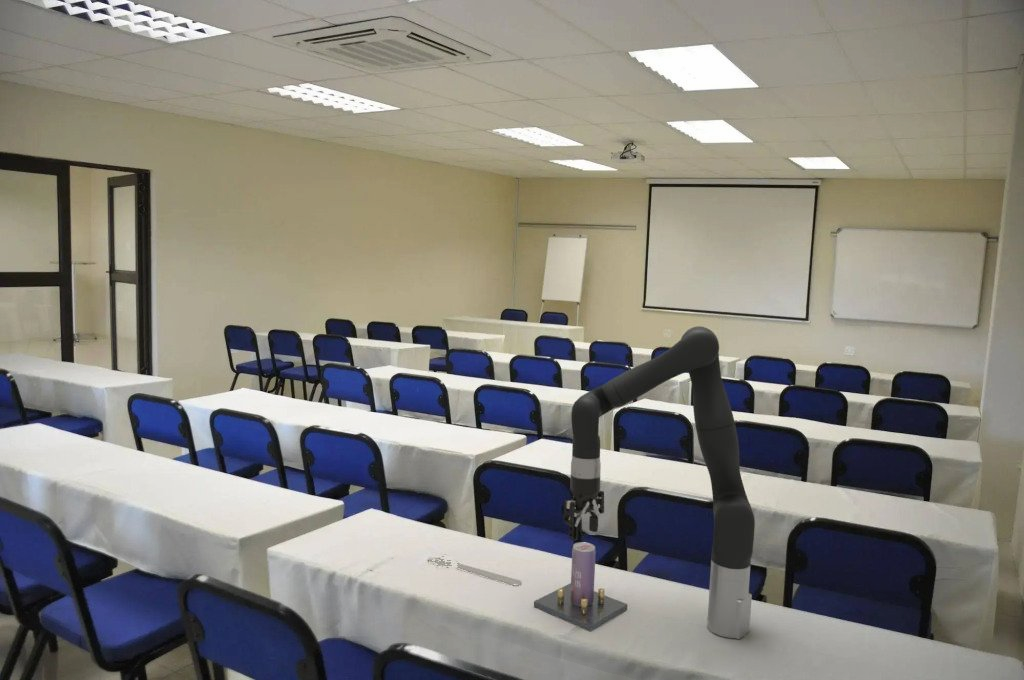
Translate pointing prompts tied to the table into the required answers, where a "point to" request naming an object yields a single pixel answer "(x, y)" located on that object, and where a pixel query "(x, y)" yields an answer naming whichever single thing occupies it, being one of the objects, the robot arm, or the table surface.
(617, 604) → the chassis plate
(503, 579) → the wrench
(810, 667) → the table surface
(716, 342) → the robot arm
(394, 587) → the table surface
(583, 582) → the beverage can
